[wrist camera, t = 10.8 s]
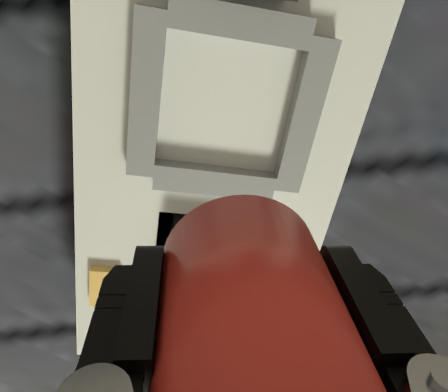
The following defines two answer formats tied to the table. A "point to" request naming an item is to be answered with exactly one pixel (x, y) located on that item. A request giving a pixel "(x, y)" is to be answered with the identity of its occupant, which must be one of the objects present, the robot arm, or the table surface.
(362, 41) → the panel
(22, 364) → the table surface
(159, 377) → the cap
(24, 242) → the table surface
